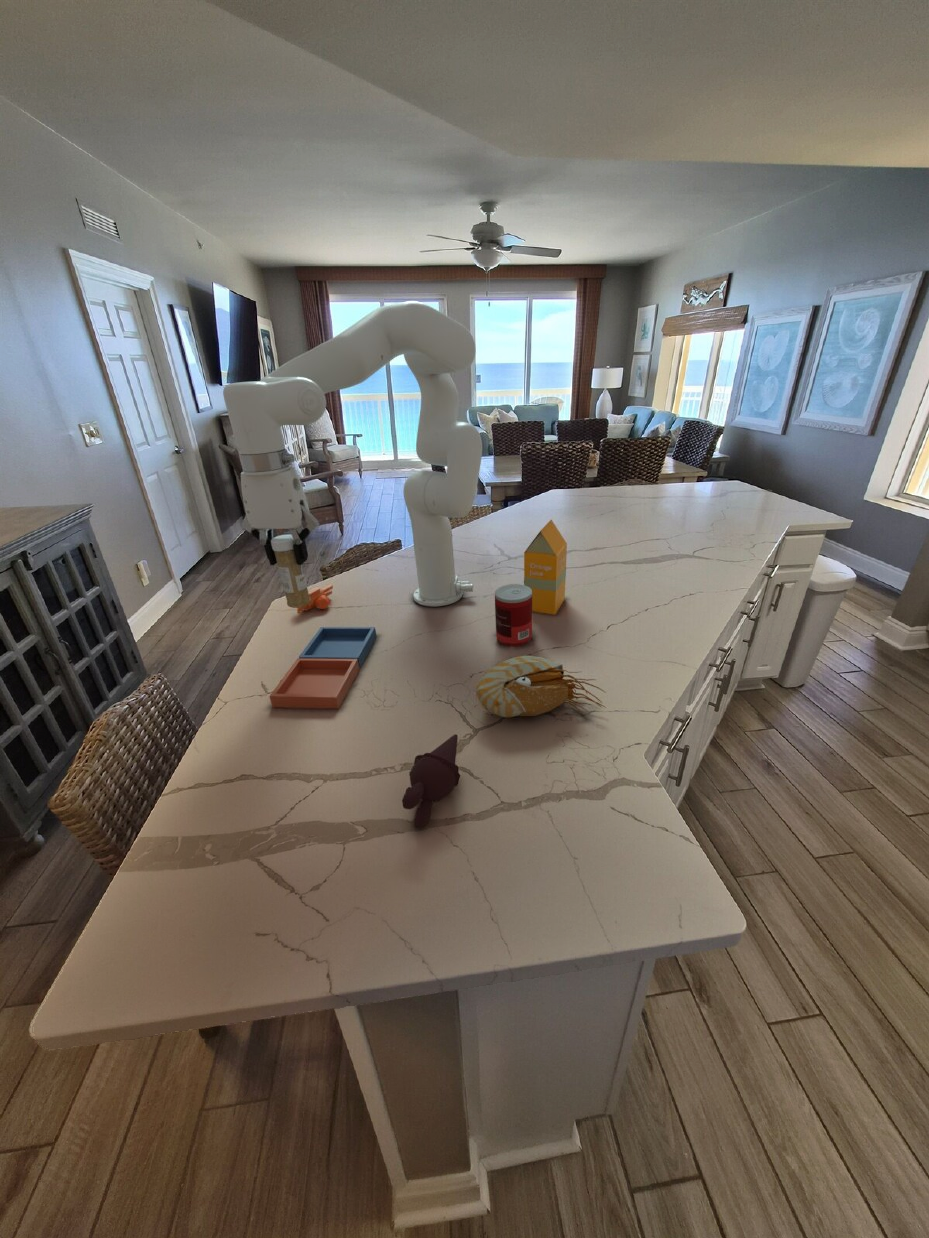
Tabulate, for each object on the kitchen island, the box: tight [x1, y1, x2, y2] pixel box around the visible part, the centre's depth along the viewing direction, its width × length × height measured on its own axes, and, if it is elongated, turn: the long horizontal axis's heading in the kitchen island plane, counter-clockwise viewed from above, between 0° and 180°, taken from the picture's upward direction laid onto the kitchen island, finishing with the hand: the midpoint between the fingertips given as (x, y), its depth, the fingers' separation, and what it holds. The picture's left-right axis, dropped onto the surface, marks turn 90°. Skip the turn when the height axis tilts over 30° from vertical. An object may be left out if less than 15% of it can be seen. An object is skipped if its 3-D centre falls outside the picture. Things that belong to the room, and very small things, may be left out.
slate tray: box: [298, 626, 378, 669], centre depth 106 cm, size 13×13×2 cm
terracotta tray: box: [268, 657, 360, 710], centre depth 94 cm, size 13×13×2 cm
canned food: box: [494, 583, 533, 647], centre depth 104 cm, size 8×8×11 cm
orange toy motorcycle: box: [296, 583, 334, 614], centre depth 125 cm, size 5×8×12 cm
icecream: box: [401, 733, 461, 830], centre depth 69 cm, size 7×7×15 cm
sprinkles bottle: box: [271, 534, 311, 609], centre depth 93 cm, size 5×5×13 cm
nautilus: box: [475, 655, 607, 718], centre depth 83 cm, size 8×22×15 cm
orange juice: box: [523, 519, 568, 616], centre depth 115 cm, size 8×9×20 cm
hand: (289, 561), depth 92 cm, fingers closed on sprinkles bottle, 4 cm apart
